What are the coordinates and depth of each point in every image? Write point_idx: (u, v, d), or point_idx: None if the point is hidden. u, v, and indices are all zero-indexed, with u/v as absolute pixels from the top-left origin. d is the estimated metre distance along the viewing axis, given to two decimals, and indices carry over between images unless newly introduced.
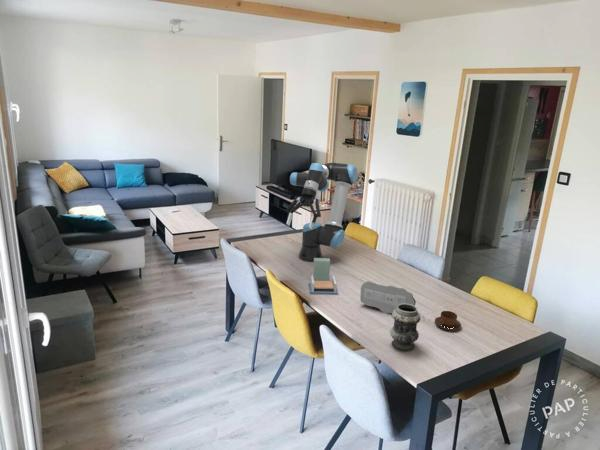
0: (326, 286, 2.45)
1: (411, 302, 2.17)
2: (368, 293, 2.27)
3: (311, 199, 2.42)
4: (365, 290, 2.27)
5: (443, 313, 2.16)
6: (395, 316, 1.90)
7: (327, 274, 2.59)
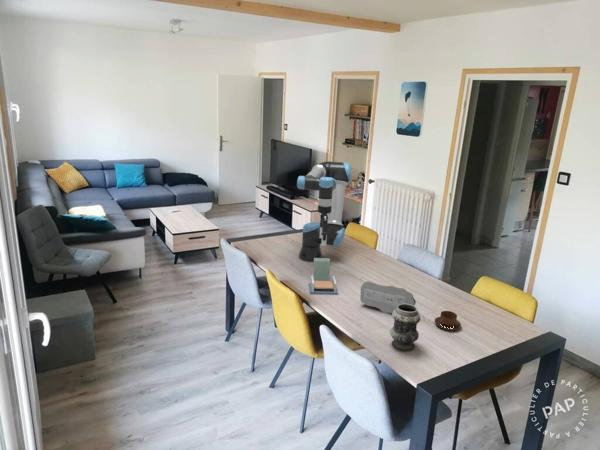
0: (326, 286, 2.45)
1: (411, 302, 2.17)
2: (368, 293, 2.27)
3: (322, 216, 2.49)
4: (365, 290, 2.27)
5: (443, 313, 2.16)
6: (395, 316, 1.90)
7: (327, 274, 2.59)
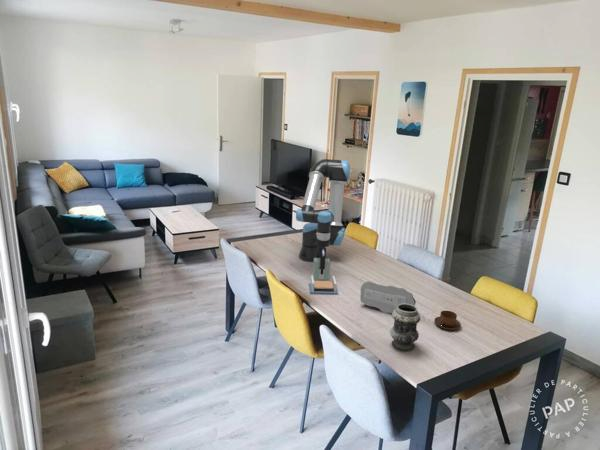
0: (326, 286, 2.45)
1: (411, 302, 2.17)
2: (368, 293, 2.27)
3: (321, 249, 2.54)
4: (365, 290, 2.27)
5: (443, 313, 2.16)
6: (395, 316, 1.90)
7: (327, 274, 2.59)
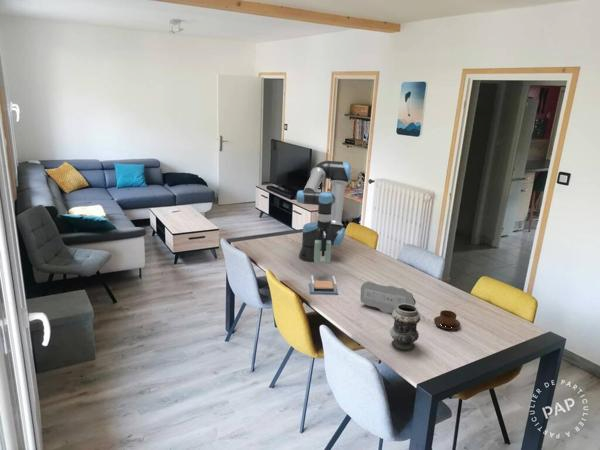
0: (326, 286, 2.45)
1: (411, 302, 2.17)
2: (368, 293, 2.27)
3: (322, 231, 2.51)
4: (365, 290, 2.27)
5: (442, 312, 2.17)
6: (395, 316, 1.90)
7: (328, 256, 2.57)
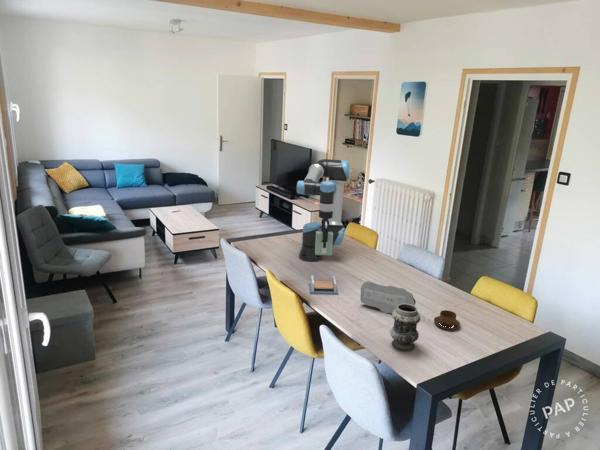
0: (326, 286, 2.45)
1: (411, 302, 2.17)
2: (368, 293, 2.27)
3: (323, 221, 2.43)
4: (365, 290, 2.27)
5: (442, 312, 2.17)
6: (395, 316, 1.90)
7: (330, 248, 2.47)
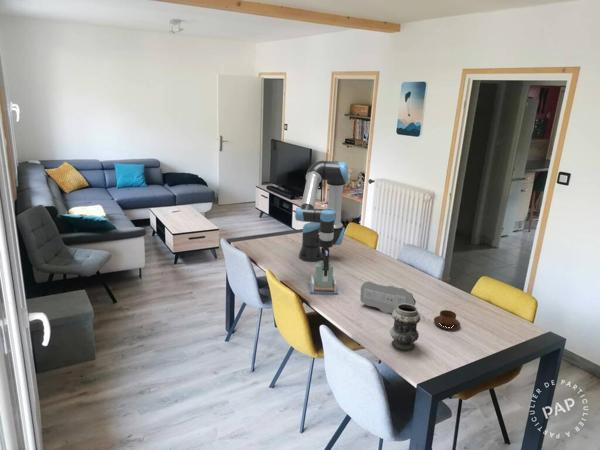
0: (326, 287, 2.45)
1: (411, 302, 2.17)
2: (368, 293, 2.27)
3: (324, 250, 2.39)
4: (365, 290, 2.27)
5: (442, 312, 2.17)
6: (395, 316, 1.90)
7: (330, 280, 2.44)
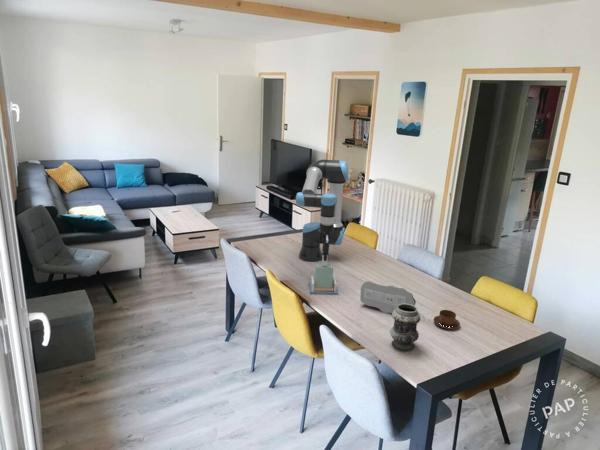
0: (326, 288, 2.45)
1: (411, 302, 2.17)
2: (368, 293, 2.27)
3: (324, 235, 2.36)
4: (365, 290, 2.27)
5: (442, 312, 2.17)
6: (395, 316, 1.90)
7: (330, 281, 2.44)
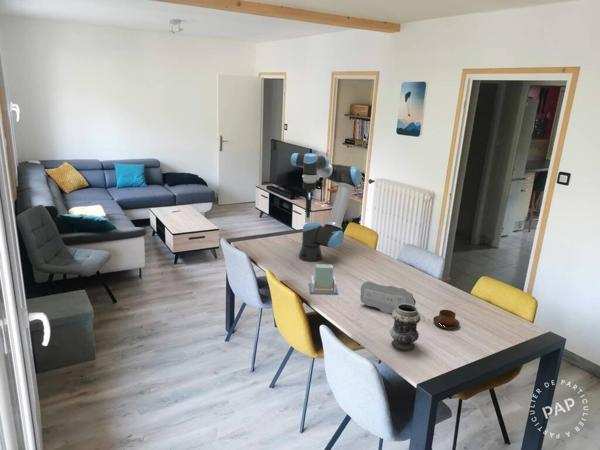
0: None
1: (411, 302, 2.17)
2: (368, 293, 2.27)
3: (307, 192, 2.50)
4: (365, 290, 2.27)
5: (442, 312, 2.17)
6: (395, 316, 1.90)
7: (330, 281, 2.44)
